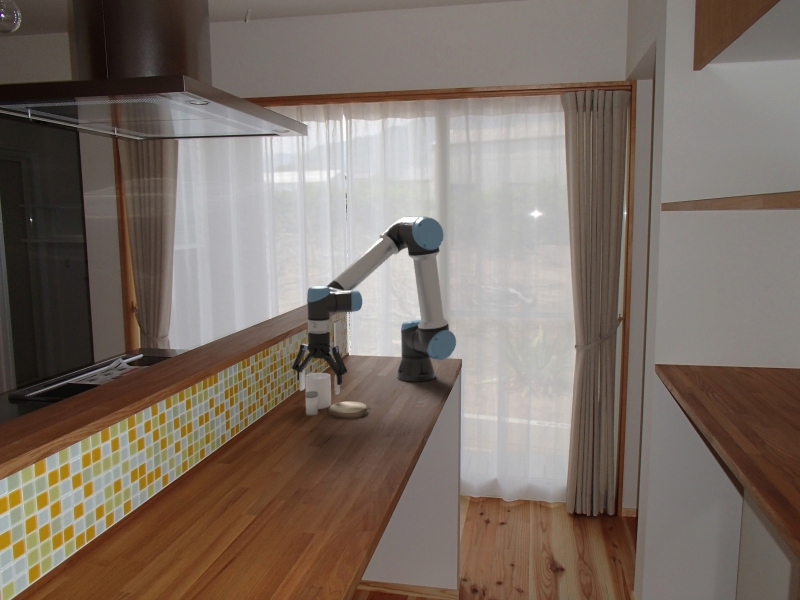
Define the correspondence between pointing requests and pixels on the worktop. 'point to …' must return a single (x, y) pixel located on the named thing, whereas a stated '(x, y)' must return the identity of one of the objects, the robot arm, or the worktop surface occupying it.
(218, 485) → the worktop surface
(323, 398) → the mug
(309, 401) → the spice jar
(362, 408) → the beige flat disc
